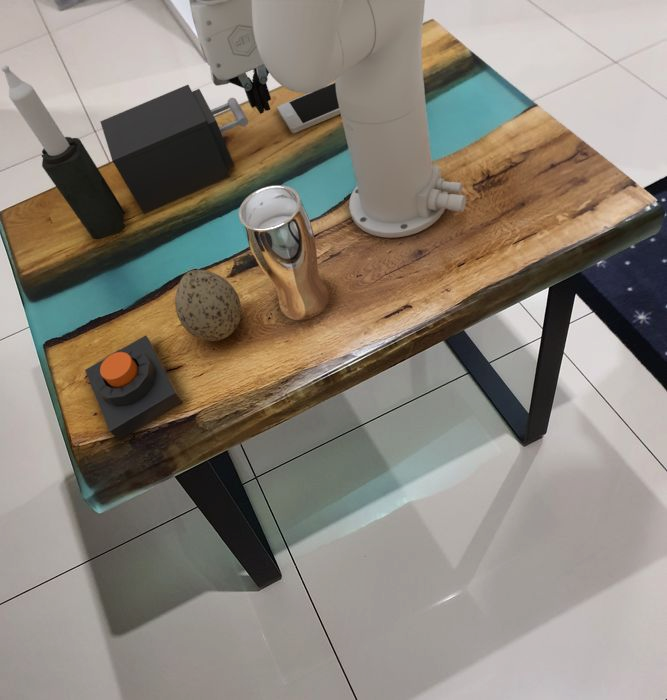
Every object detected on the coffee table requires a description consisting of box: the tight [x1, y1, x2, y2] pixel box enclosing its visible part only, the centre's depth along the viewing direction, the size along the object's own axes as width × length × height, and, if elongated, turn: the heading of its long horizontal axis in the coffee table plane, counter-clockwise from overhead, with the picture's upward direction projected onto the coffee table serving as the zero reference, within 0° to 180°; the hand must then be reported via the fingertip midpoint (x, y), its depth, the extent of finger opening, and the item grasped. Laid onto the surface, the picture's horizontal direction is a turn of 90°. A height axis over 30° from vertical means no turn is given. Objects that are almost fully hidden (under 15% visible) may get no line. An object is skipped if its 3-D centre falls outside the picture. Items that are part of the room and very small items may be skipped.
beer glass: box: [238, 184, 330, 321], centre depth 71 cm, size 7×7×15 cm
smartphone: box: [277, 81, 341, 134], centre depth 99 cm, size 7×15×1 cm, turn 111°
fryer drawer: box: [192, 88, 249, 170], centre depth 94 cm, size 17×9×8 cm, turn 112°
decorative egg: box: [174, 269, 242, 342], centre depth 73 cm, size 7×7×10 cm
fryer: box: [100, 84, 231, 215], centre depth 93 cm, size 14×11×10 cm
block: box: [84, 335, 184, 441], centre depth 73 cm, size 10×8×4 cm
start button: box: [100, 352, 138, 388], centre depth 71 cm, size 4×4×2 cm
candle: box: [0, 63, 126, 240], centre depth 84 cm, size 5×5×25 cm
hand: (262, 107), depth 94 cm, fingers closed
